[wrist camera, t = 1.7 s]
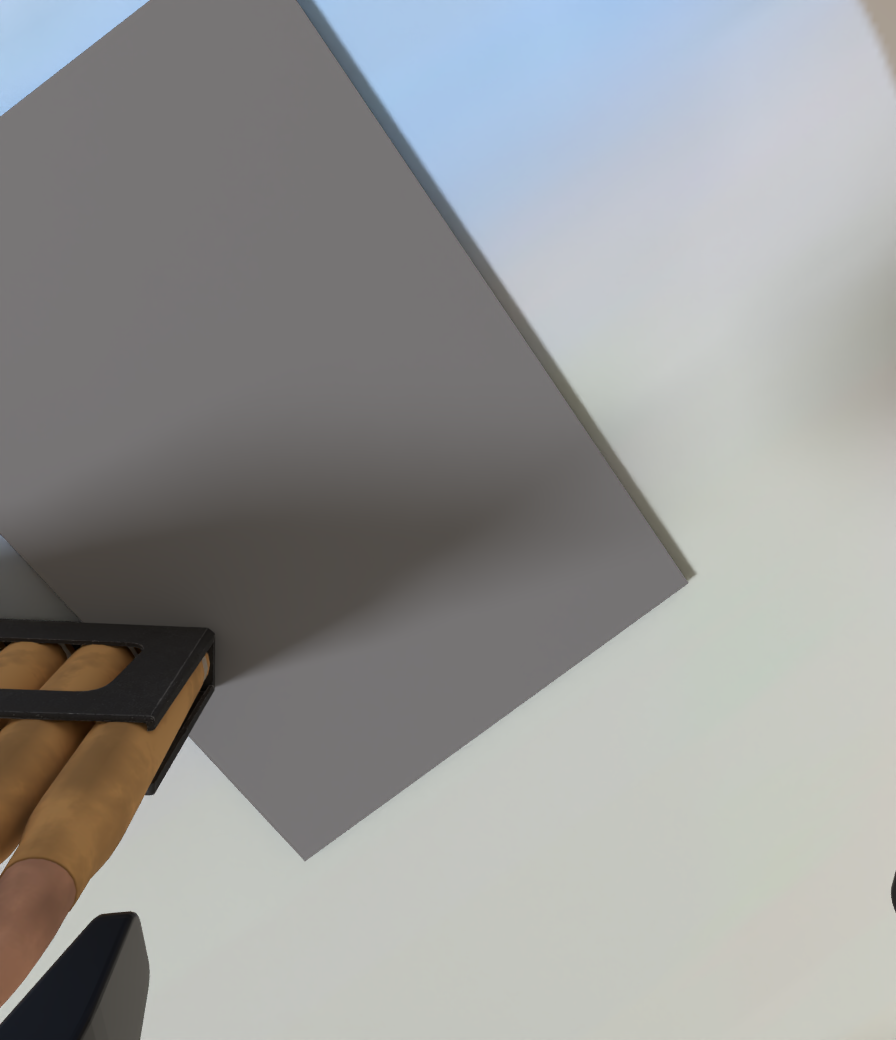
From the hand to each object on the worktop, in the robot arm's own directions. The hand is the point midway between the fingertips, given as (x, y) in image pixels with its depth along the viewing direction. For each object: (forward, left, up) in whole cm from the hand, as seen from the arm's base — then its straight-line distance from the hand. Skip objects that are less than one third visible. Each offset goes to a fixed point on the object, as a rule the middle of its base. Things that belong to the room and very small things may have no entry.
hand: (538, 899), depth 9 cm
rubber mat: (-1, +5, -14) cm, 15 cm away
